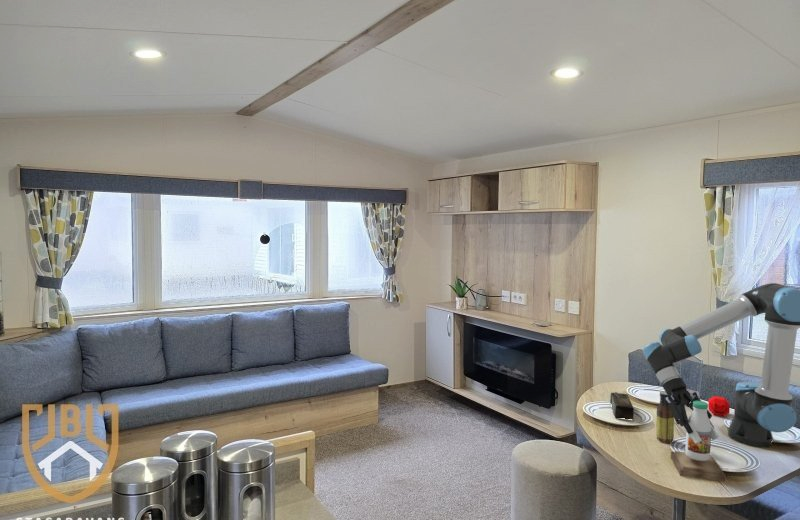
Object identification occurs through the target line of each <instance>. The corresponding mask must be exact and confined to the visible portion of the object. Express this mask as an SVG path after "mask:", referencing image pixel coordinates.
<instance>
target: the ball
mask: <svg viewBox="0 0 800 520" xmlns="http://www.w3.org/2000/svg"><path fill="white" fill-rule="evenodd" d="M707 404H708V411H709V412H710V413H711V415H712V416H719V417H726V416H727V415H729V414H730V411H731V409H730V406H731V405H730V402H729V401H728V400H727V399H726V398H725V397H723V396H716V395H714V396H712V397H710V398H709V399H708V403H707Z"/></svg>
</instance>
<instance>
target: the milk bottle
mask: <svg viewBox="0 0 800 520" xmlns="http://www.w3.org/2000/svg"><path fill="white" fill-rule="evenodd" d="M708 404H709V403H708V402H706V401H703V400H701V401H694V402H693V411H692V412H691V415H690V416H689V417H688V422H689V423H692V425H693V427H694V428H695V430H696V432H697V433H698V435H699V437H700V438H701V440H702V441H700V442H698V443H696V444H695V443H694V441H693V439H692V438H691V436H690V434H688V433H687V431H686V430H685V431H686V432H685V445H684V447H685V449H684V452H685V453H686V455H687V456H688V457H689V458H691V459H694V460H698V461H707V460H709V458H710V455H711V445H712V444H711V442H712V439H711V423H712V422H711V423H710V421H711V420H710V419H709V418H708V415H707V410H708V411H709V409H708Z"/></svg>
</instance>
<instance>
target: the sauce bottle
mask: <svg viewBox="0 0 800 520" xmlns="http://www.w3.org/2000/svg"><path fill="white" fill-rule="evenodd" d="M669 396H670V395H668V394H667V393H666V392H665V390H664V391H662V390H661V391H659V403H658V405H657V407H656V428H655V429H656V431H655V433H656V439H657V441H659V442H660V443H665V444H671V442H672V441H673V442H674V436H675V435H674V434H675V422H674V421H675V419H674V416H673V414H672V412H671V410H670V408H669V405H668V404H667V403H666V401H665V399H666V398H667V397H669ZM673 442H672V443H673Z"/></svg>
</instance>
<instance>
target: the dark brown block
mask: <svg viewBox="0 0 800 520" xmlns="http://www.w3.org/2000/svg"><path fill="white" fill-rule="evenodd" d="M609 399H610V400H609V402H610V403H611V404H612V408H611V411H612V410H613V411H612V414H613V417H614V416H615V417H616V418H625V419H633V420H634V413H635V408H634V406H633V404H632V401H631V400H630V397H629V395H628V393H620V392H617V391H614V392H610V397H609ZM610 403H609V404H610ZM615 417H614V418H615Z"/></svg>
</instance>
